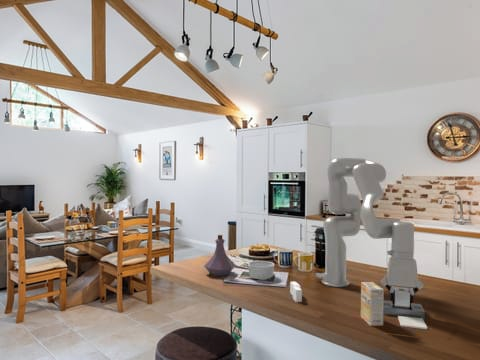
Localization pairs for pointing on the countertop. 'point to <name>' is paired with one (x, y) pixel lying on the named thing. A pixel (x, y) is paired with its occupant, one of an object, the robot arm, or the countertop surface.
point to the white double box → (296, 291)
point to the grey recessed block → (404, 310)
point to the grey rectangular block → (402, 298)
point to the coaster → (412, 322)
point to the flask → (219, 260)
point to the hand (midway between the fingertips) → (401, 303)
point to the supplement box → (372, 303)
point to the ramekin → (261, 269)
